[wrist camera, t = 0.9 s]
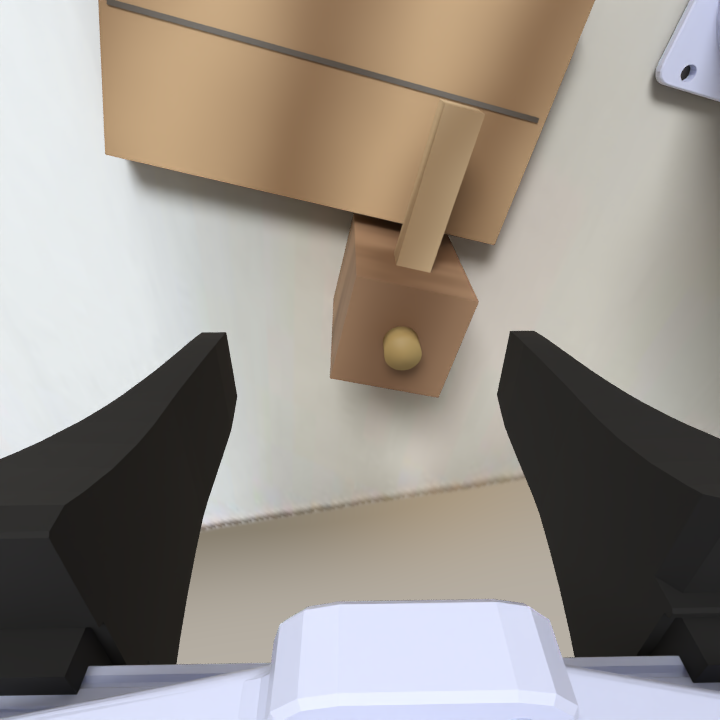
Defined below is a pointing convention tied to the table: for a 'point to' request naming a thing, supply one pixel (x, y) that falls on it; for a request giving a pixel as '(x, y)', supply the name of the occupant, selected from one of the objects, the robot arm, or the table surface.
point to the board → (335, 93)
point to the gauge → (408, 276)
